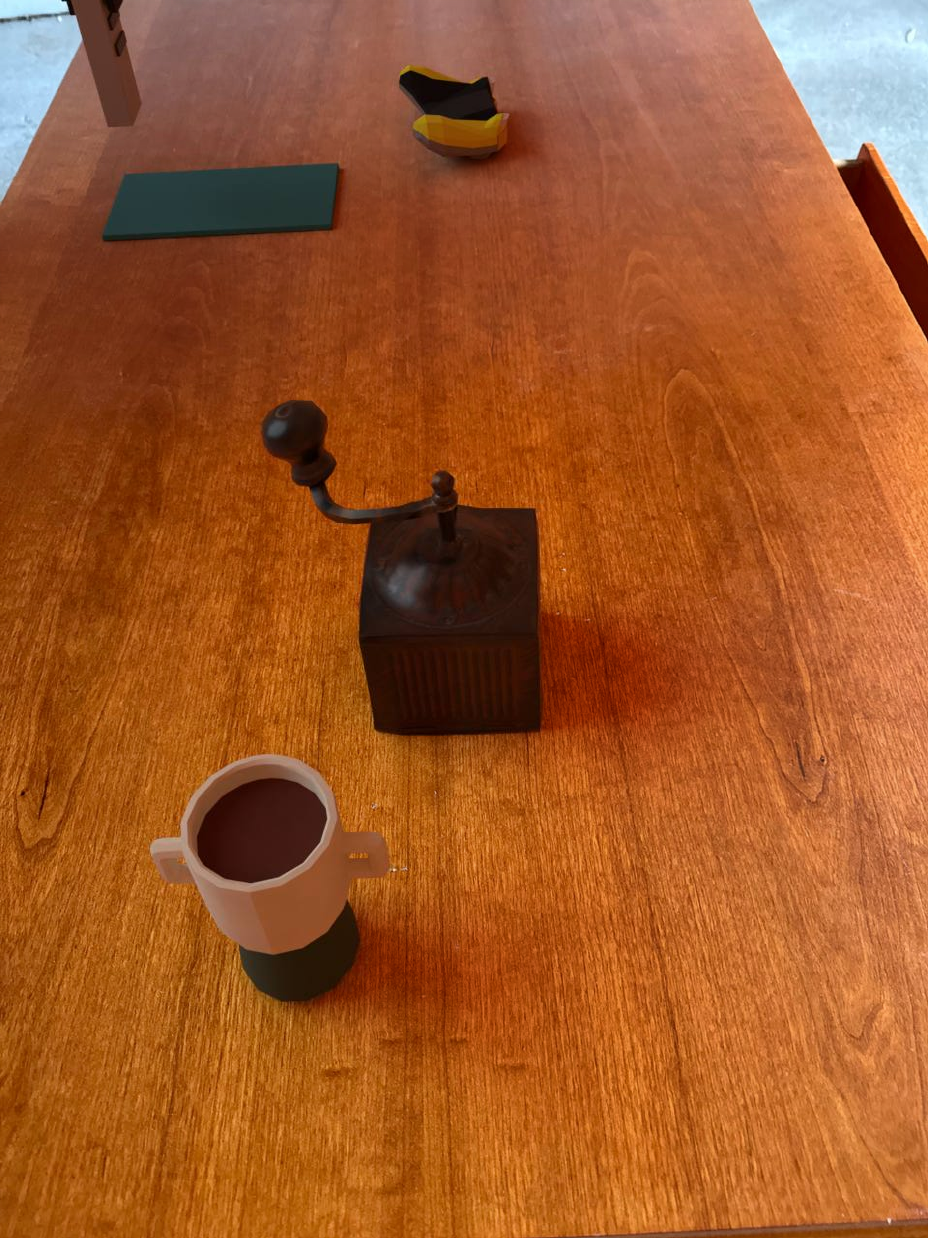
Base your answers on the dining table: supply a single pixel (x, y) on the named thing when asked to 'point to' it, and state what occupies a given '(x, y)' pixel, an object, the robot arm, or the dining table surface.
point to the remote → (109, 61)
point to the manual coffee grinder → (434, 597)
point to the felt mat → (224, 202)
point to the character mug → (275, 871)
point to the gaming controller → (454, 113)
